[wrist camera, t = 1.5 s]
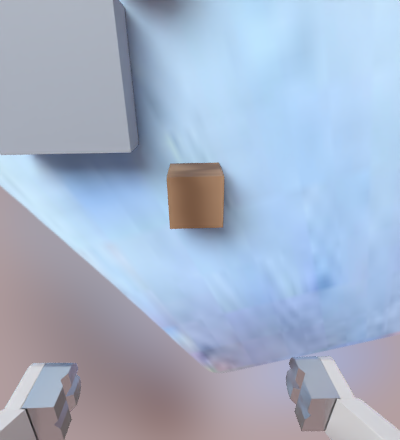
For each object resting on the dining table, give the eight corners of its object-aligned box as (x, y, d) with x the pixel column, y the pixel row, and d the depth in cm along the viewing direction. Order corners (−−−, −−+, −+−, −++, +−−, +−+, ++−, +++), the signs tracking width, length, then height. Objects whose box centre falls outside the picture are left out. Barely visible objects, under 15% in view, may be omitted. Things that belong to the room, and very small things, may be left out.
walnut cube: (218, 162, 28) (224, 176, 24) (217, 207, 30) (222, 227, 26) (170, 163, 28) (166, 177, 23) (173, 208, 30) (170, 228, 26)
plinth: (124, 7, 22) (111, -10, 19) (138, 144, 27) (130, 152, 23) (-13, 7, 22) (-53, -9, 18) (26, 146, 27) (0, 154, 23)
